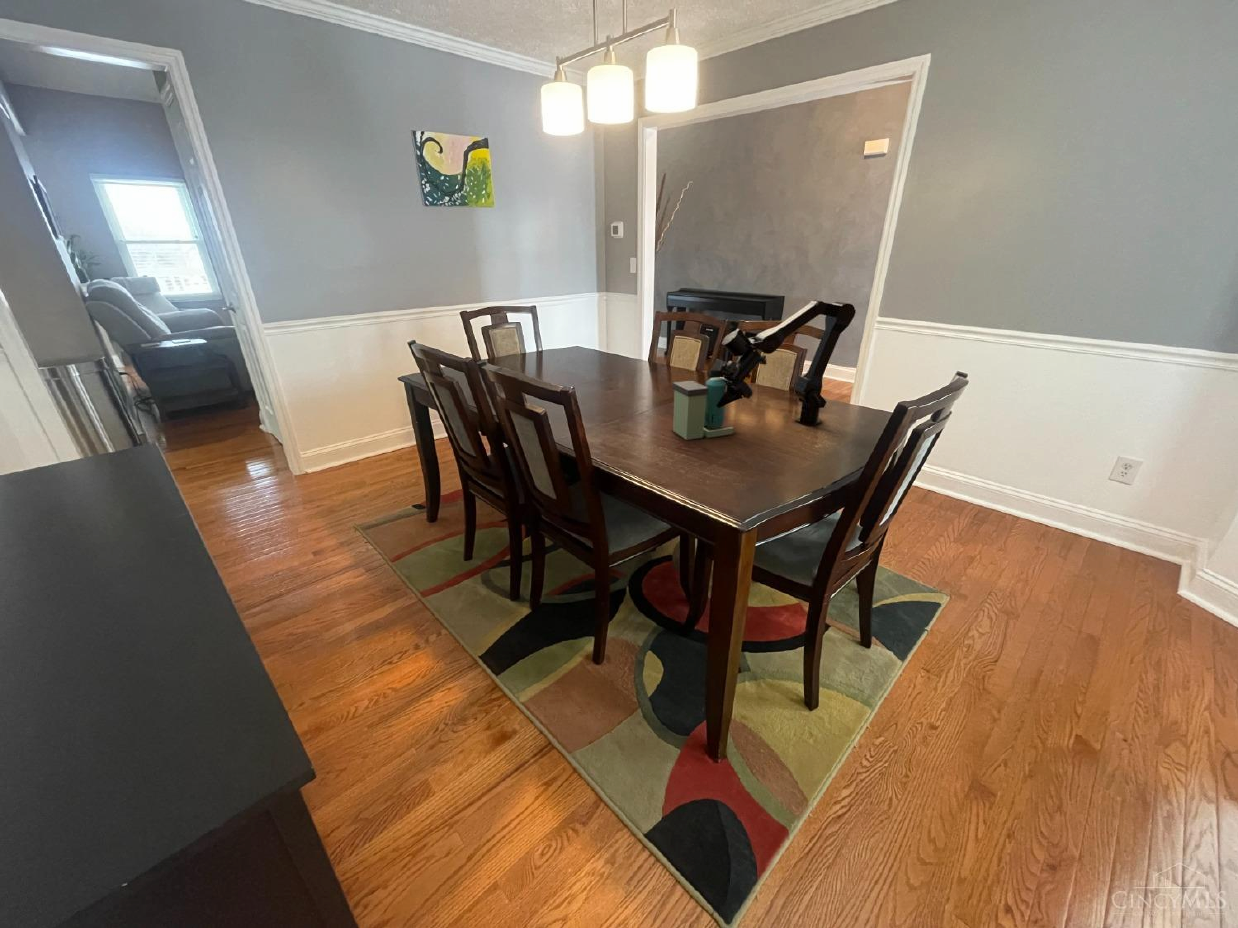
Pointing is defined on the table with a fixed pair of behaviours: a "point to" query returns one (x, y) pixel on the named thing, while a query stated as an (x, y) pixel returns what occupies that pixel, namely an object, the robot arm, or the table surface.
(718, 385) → the beverage bottle
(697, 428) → the drink station
